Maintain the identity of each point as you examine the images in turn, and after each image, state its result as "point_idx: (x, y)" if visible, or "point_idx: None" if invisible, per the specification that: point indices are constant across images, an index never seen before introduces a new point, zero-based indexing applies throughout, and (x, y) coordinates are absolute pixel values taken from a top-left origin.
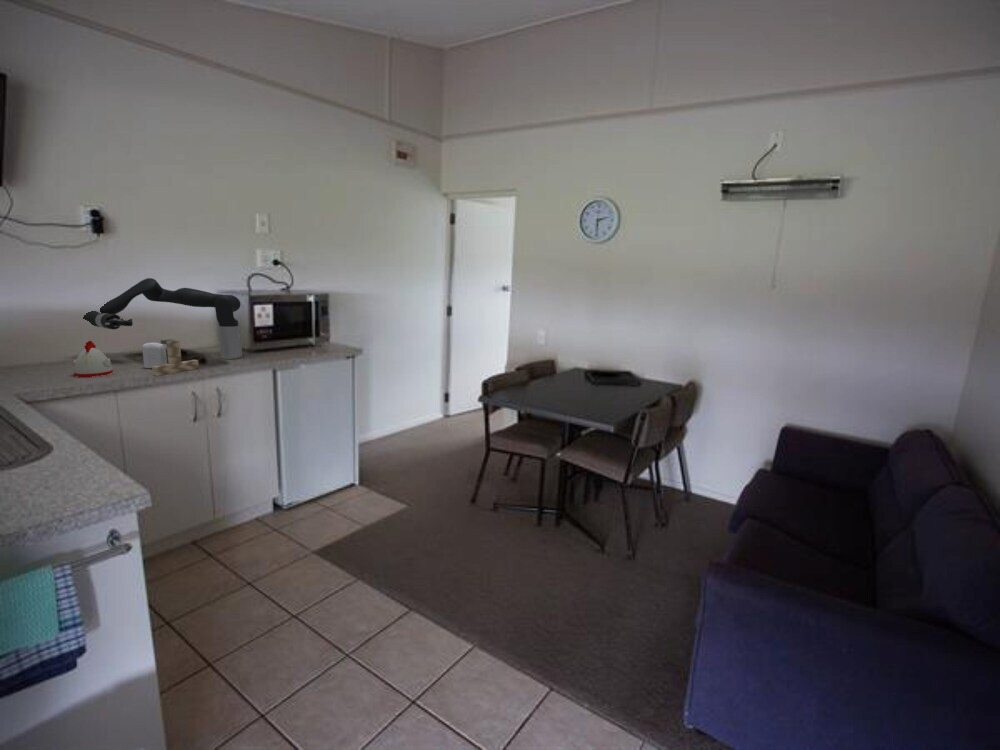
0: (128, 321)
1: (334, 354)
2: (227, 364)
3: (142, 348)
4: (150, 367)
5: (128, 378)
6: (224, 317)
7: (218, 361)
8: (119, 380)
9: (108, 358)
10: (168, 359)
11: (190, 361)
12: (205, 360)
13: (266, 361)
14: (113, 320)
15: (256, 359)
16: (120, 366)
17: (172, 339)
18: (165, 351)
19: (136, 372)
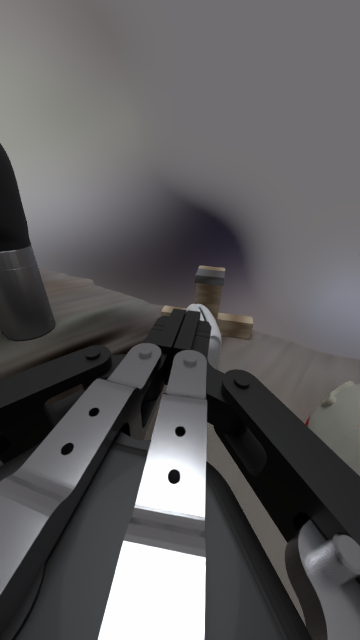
0: (186, 316)
1: None
2: (115, 308)
3: (221, 345)
4: None
5: (297, 352)
6: (21, 216)
7: (83, 327)
8: (317, 353)
9: (334, 397)
10: (218, 309)
11: (179, 308)
12: (69, 348)
13: (80, 289)
14: (217, 599)
15: (59, 300)
16: None
17: (197, 273)
18: None
19: (256, 377)
